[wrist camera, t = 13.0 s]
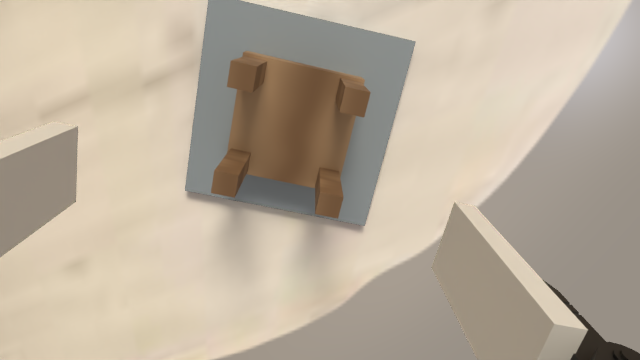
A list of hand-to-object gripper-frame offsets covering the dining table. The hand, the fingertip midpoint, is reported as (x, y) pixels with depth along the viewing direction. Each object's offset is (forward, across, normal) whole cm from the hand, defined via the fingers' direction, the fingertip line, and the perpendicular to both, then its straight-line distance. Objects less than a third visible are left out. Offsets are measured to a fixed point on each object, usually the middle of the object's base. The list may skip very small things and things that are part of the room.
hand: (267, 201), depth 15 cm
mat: (+17, 0, 0) cm, 17 cm away
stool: (+16, 0, 0) cm, 16 cm away
